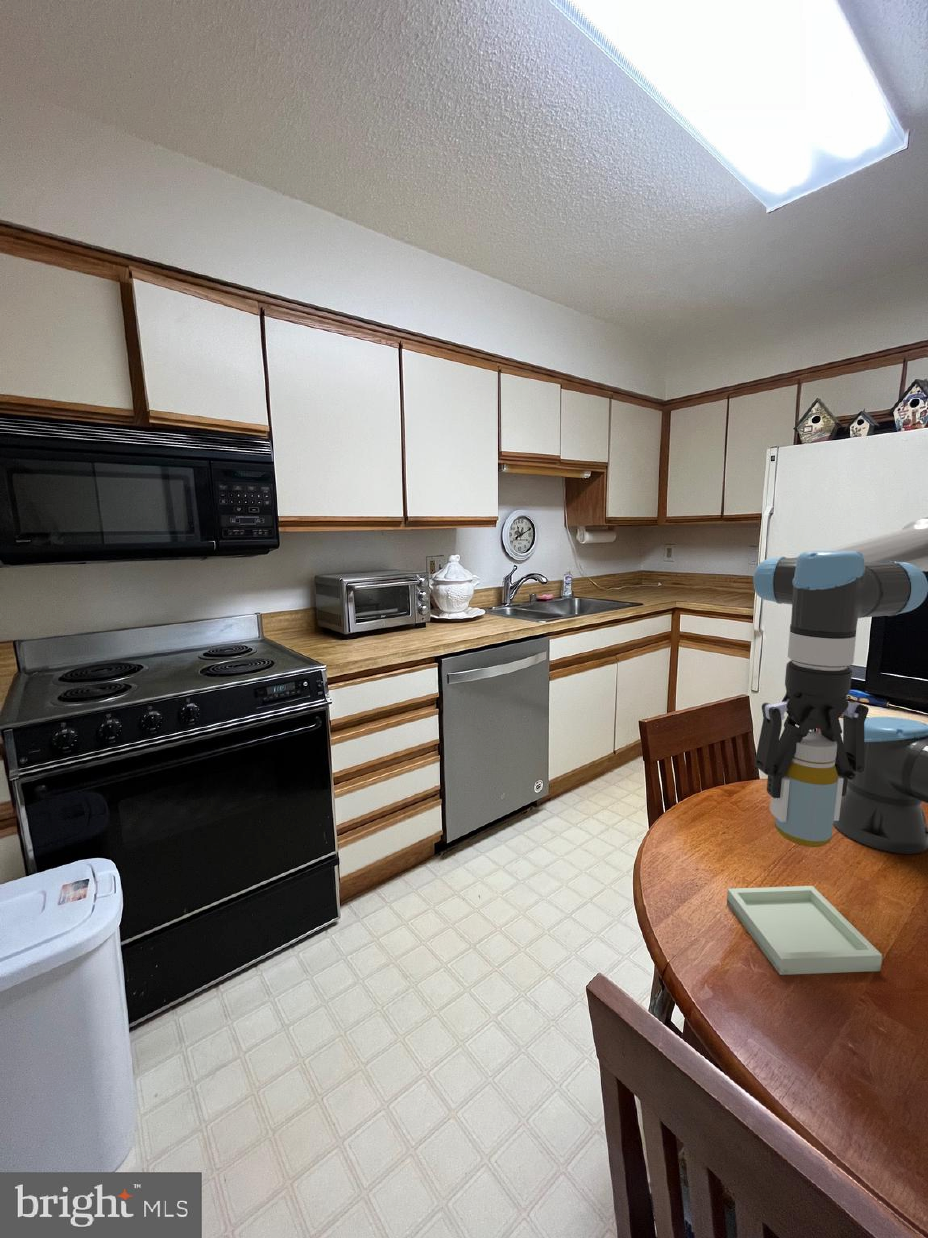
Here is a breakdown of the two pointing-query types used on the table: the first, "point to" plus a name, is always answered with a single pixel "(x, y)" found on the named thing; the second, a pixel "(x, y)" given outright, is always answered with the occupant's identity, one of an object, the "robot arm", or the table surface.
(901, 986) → the table surface
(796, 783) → the bottle
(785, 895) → the pale green square tray
